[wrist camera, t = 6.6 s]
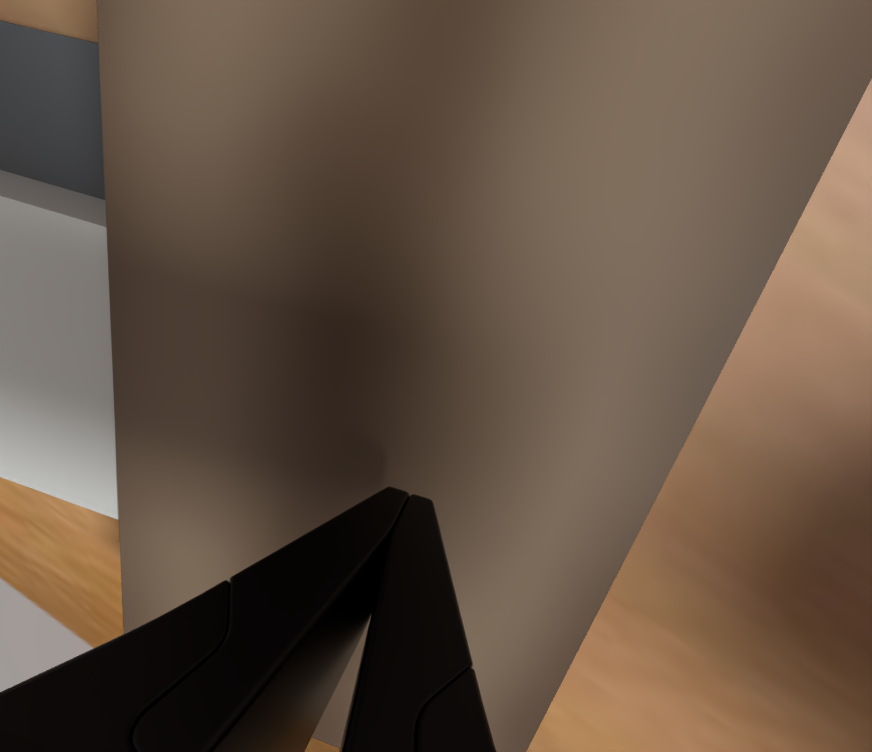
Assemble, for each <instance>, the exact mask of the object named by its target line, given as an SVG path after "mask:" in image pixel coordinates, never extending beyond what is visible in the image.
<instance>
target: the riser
mask: <svg viewBox="0 0 872 752" xmlns="http://www.w3.org/2000/svg"><path fill="white" fill-rule="evenodd" d="M97 18H98V41H99V65H100V88H101V112H102V135H103V158H104V182H105V205H106V229H107V252H108V276H109V299H110V322H111V346H112V369H113V393H114V416H115V439H116V463H117V486H118V510H119V533H120V557H121V580H122V603H123V627H124V634H125V633H127V632H129V631H131V630H133V629H135V628H137V627H139V626H141V625H143V624H145V623H147V622H149V621H151V620H153V619H155V618H157V617H159V616H161V615H163V614H165V613H167V612H169V611H170V610H172V609H174V608H176V607H178V606H180V605H181V604H183V603H185V602H187V601H189V600H191V599H193V598H194V597H196V596H198V595H200V594H202V593H203V592H205V591H207V590H209V589H210V588H212V587H214V586H216V585H217V584H219V583H221V582H222V581H224V580H227V581H229V579H230V578H231V577H232V576H233V575H235V574H237V573H239V572H240V571H242V570H244V569H246V568H247V567H249V566H251V565H252V564H254V563H256V562H258V561H259V560H261V559H263V558H265V557H266V556H268V555H270V554H272V553H273V552H275V551H277V550H279V549H280V548H282V547H284V546H285V545H287V544H289V543H291V542H292V541H294V540H296V539H298V538H299V537H301V536H303V535H305V534H306V533H308V532H310V531H312V530H313V529H315V528H317V527H318V526H320V525H322V524H324V523H325V522H327V521H329V520H331V519H332V518H334V517H336V516H338V515H339V514H341V513H343V512H345V511H346V510H348V509H350V508H351V507H353V506H355V505H357V504H358V503H360V502H362V501H364V500H365V499H367V498H369V497H371V496H372V495H374V494H376V493H378V492H379V491H381V490H383V489H384V488H386V487H394V488H397V489H400V490H403V491H406V492H408V493H409V495H410V496H411V495H412V494H416V495H419V496H422V497H425V498H428V499H431V500H432V501H433V503H434V507H435V511H436V515H437V519H438V523H439V527H440V531H441V536H442V540H443V544H444V548H445V552H446V556H447V560H448V564H449V568H450V572H451V576H452V580H453V584H454V589H455V593H456V597H457V601H458V605H459V609H460V613H461V617H462V621H463V625H464V629H465V633H466V638H467V642H468V646H469V650H470V654H471V658H472V662H473V667H472V668H473V669H474V670H475V673H476V677H477V681H478V685H479V690H480V694H481V698H482V701H483V705H484V709H485V712H486V716H487V719H488V723H489V727H490V730H491V734H492V737H493V741H494V745H495V748H496V751H497V752H526V751H527V749H528V747H529V745H530V743H531V741H532V739H533V737H534V735H535V733H536V731H537V730H538V728H539V726H540V724H541V722H542V720H543V718H544V716H545V714H546V712H547V710H548V708H549V706H550V704H551V702H552V700H553V698H554V696H555V694H556V692H557V691H558V689H559V687H560V685H561V683H562V681H563V679H564V677H565V675H566V673H567V671H568V669H569V667H570V665H571V663H572V661H573V659H574V657H575V655H576V654H577V652H578V650H579V648H580V646H581V644H582V642H583V640H584V638H585V636H586V634H587V632H588V630H589V628H590V626H591V624H592V622H593V620H594V618H595V616H596V615H597V613H598V611H599V609H600V607H601V605H602V603H603V601H604V599H605V597H606V595H607V593H608V591H609V589H610V587H611V585H612V583H613V581H614V579H615V577H616V576H617V574H618V572H619V570H620V568H621V566H622V564H623V562H624V560H625V558H626V556H627V554H628V552H629V550H630V548H631V546H632V544H633V542H634V540H635V539H636V537H637V535H638V533H639V531H640V529H641V527H642V525H643V523H644V521H645V519H646V517H647V515H648V513H649V511H650V509H651V507H652V505H653V503H654V501H655V500H656V498H657V496H658V494H659V492H660V490H661V488H662V486H663V484H664V482H665V480H666V478H667V476H668V474H669V472H670V470H671V468H672V466H673V464H674V462H675V461H676V459H677V457H678V455H679V453H680V451H681V449H682V447H683V445H684V443H685V441H686V439H687V437H688V435H689V433H690V431H691V429H692V427H693V425H694V424H695V422H696V420H697V418H698V416H699V414H700V412H701V410H702V408H703V406H704V404H705V402H706V400H707V398H708V396H709V394H710V392H711V390H712V388H713V386H714V385H715V383H716V381H717V379H718V377H719V375H720V373H721V371H722V369H723V367H724V365H725V363H726V361H727V359H728V357H729V355H730V353H731V351H732V349H733V347H734V346H735V344H736V342H737V340H738V338H739V336H740V334H741V332H742V330H743V328H744V326H745V324H746V322H747V320H748V318H749V316H750V314H751V312H752V310H753V309H754V307H755V305H756V303H757V301H758V299H759V297H760V295H761V293H762V291H763V289H764V287H765V285H766V283H767V281H768V279H769V277H770V275H771V273H772V271H773V270H774V268H775V266H776V264H777V262H778V260H779V258H780V256H781V254H782V252H783V250H784V248H785V246H786V244H787V242H788V240H789V238H790V236H791V234H792V233H793V231H794V229H795V227H796V225H797V223H798V221H799V219H800V217H801V215H802V213H803V211H804V209H805V207H806V205H807V203H808V201H809V199H810V197H811V195H812V194H813V192H814V190H815V188H816V186H817V184H818V182H819V180H820V178H821V176H822V174H823V172H824V170H825V168H826V166H827V164H828V162H829V160H830V158H831V156H832V155H833V153H834V151H835V149H836V147H837V145H838V143H839V141H840V139H841V137H842V135H843V133H844V131H845V129H846V127H847V125H848V123H849V121H850V119H851V118H852V116H853V114H854V112H855V110H856V108H857V106H858V104H859V102H860V100H861V98H862V96H863V94H864V92H865V90H866V88H867V86H868V84H869V82H870V80H871V79H872V0H97ZM370 618H371V617H370ZM369 622H370V619H369ZM369 622H368V624H367V626H366V628H365V630H364V632H363V635H362V637H361V639H360V641H359V643H358V645H357V647H356V649H355V651H354V653H353V655H352V657H351V659H350V661H349V663H348V665H347V667H346V669H345V671H344V673H343V675H342V677H341V679H340V681H339V683H338V685H337V687H336V689H335V691H334V693H333V695H332V697H331V699H330V701H329V703H328V705H327V707H326V709H325V711H324V713H323V715H322V717H321V719H320V721H319V723H318V725H317V727H316V729H315V731H314V733H313V735H312V738H315V739H317V740H320V741H322V742H325V743H328V744H330V745H333V746H335V747H338V748H340V747H341V742H342V738H343V734H344V729H345V725H346V721H347V716H348V712H349V708H350V704H351V699H352V695H353V691H354V686H355V682H356V678H357V673H358V669H359V665H360V661H361V656H362V652H363V648H364V643H365V639H366V635H367V631H368V627H369Z"/></svg>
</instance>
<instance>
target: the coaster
mask: <svg viewBox="0 0 872 752" xmlns="http://www.w3.org/2000/svg"><path fill="white" fill-rule="evenodd" d="M0 477H2V478H5V479H7V480H10V481H13V482H16V483H18V484H21V485H24V486H27V487H29V488H32V489H35V490H38V491H40V492H43V493H46V494H49V495H51V496H54V497H57V498H60V499H62V500H65V501H68V502H71V503H73V504H76V505H79V506H82V507H84V508H87V509H90V510H93V511H95V512H98V513H101V514H104V515H106V516H109V517H112V518H115V519H117V520H118V519H119V510H118V486H117V463H116V439H115V416H114V393H113V369H112V346H111V322H110V299H109V276H108V252H107V229H106V205H105V200H102V199H99V198H96V197H92V196H89V195H85V194H82V193H78V192H75V191H72V190H68V189H65V188H61V187H58V186H54V185H51V184H47V183H44V182H41V181H37V180H34V179H30V178H27V177H23V176H20V175H16V174H13V173H10V172H6V171H3V170H0Z"/></svg>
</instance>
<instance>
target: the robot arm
mask: <svg viewBox="0 0 872 752" xmlns="http://www.w3.org/2000/svg"><path fill="white" fill-rule="evenodd" d="M370 617H371V618H370ZM369 619H370V622H369ZM368 622H369V627H368V631H367V635H366V639H365V643H364V648H363V652H362V656H361V661H360V665H359V669H358V673H357V678H356V682H355V686H354V691H353V695H352V699H351V704H350V708H349V712H348V716H347V721H346V725H345V729H344V734H343V738H342V742H341V747H340V751H339V752H497V751H496V748H495V745H494V741H493V737H492V734H491V730H490V727H489V723H488V719H487V716H486V712H485V709H484V705H483V701H482V698H481V694H480V690H479V685H478V681H477V677H476V673H475V670H474V669H473V668H472V667H473V662H472V658H471V654H470V650H469V646H468V642H467V638H466V633H465V629H464V625H463V621H462V617H461V613H460V609H459V605H458V601H457V597H456V593H455V589H454V584H453V580H452V576H451V572H450V568H449V564H448V560H447V556H446V552H445V548H444V544H443V540H442V536H441V531H440V527H439V523H438V519H437V515H436V511H435V507H434V503H433V501H432V500H431V499H428V498H425V497H422V496H419V495H416V494H412V495H411V496H410V495H409V493H408V492H406V491H403V490H400V489H397V488H394V487H386V488H384V489H383V490H381V491H379V492H378V493H376V494H374V495H372V496H371V497H369V498H367V499H365V500H364V501H362V502H360V503H358V504H357V505H355V506H353V507H351V508H350V509H348V510H346V511H345V512H343V513H341V514H339V515H338V516H336V517H334V518H332V519H331V520H329V521H327V522H325V523H324V524H322V525H320V526H318V527H317V528H315V529H313V530H312V531H310V532H308V533H306V534H305V535H303V536H301V537H299V538H298V539H296V540H294V541H292V542H291V543H289V544H287V545H285V546H284V547H282V548H280V549H279V550H277V551H275V552H273V553H272V554H270V555H268V556H266V557H265V558H263V559H261V560H259V561H258V562H256V563H254V564H252V565H251V566H249V567H247V568H246V569H244V570H242V571H240V572H239V573H237V574H235V575H233V576H232V577H231V578H230V579H229V581H227V580H224V581H222V582H221V583H219V584H217V585H216V586H214V587H212V588H210V589H209V590H207V591H205V592H203V593H202V594H200V595H198V596H196V597H194V598H193V599H191V600H189V601H187V602H185V603H183V604H181V605H180V606H178V607H176V608H174V609H172V610H170V611H169V612H167V613H165V614H163V615H161V616H159V617H157V618H155V619H153V620H151V621H149V622H147V623H145V624H143V625H141V626H139V627H137V628H135V629H133V630H131V631H129V632H127V633H125V634H123V635H121V636H119V637H117V638H115V639H113V640H111V641H109V642H107V643H104V644H102V645H100V646H98V647H96V648H94V649H92V650H90V651H87V652H85V653H83V654H81V655H79V656H77V657H75V658H73V659H70V660H68V661H66V662H64V663H62V664H60V665H58V666H55V667H53V668H51V669H49V670H47V671H45V672H43V673H40V674H38V675H37V676H34V677H32V678H30V679H28V680H26V681H23V682H21V683H19V684H17V685H15V686H13V687H11V688H8V689H6V690H4V691H2V692H0V752H304V751H305V749H306V747H307V745H308V743H309V741H310V739H311V737H312V735H313V733H314V731H315V729H316V727H317V725H318V723H319V721H320V719H321V717H322V715H323V713H324V711H325V709H326V707H327V705H328V703H329V701H330V699H331V697H332V695H333V693H334V691H335V689H336V687H337V685H338V683H339V681H340V679H341V677H342V675H343V673H344V671H345V669H346V667H347V665H348V663H349V661H350V659H351V657H352V655H353V653H354V651H355V649H356V647H357V645H358V643H359V641H360V639H361V637H362V635H363V632H364V630H365V628H366V626H367V624H368Z"/></svg>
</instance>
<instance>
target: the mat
mask: <svg viewBox="0 0 872 752" xmlns="http://www.w3.org/2000/svg"><path fill="white" fill-rule="evenodd" d="M0 170H3V171H6V172H10V173H13V174H16V175H20V176H23V177H27V178H30V179H34V180H37V181H41V182H44V183H47V184H51V185H54V186H58V187H61V188H65V189H68V190H72V191H75V192H78V193H82V194H85V195H89V196H92V197H96V198H99V199H102V200H105V182H104V158H103V135H102V112H101V88H100V65H99V44H97V43H93V42H89V41H84V40H80V39H76V38H72V37H67V36H63V35H59V34H54V33H50V32H46V31H42V30H37V29H33V28H29V27H25V26H20V25H16V24H12V23H8V22H3V21H0Z"/></svg>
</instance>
